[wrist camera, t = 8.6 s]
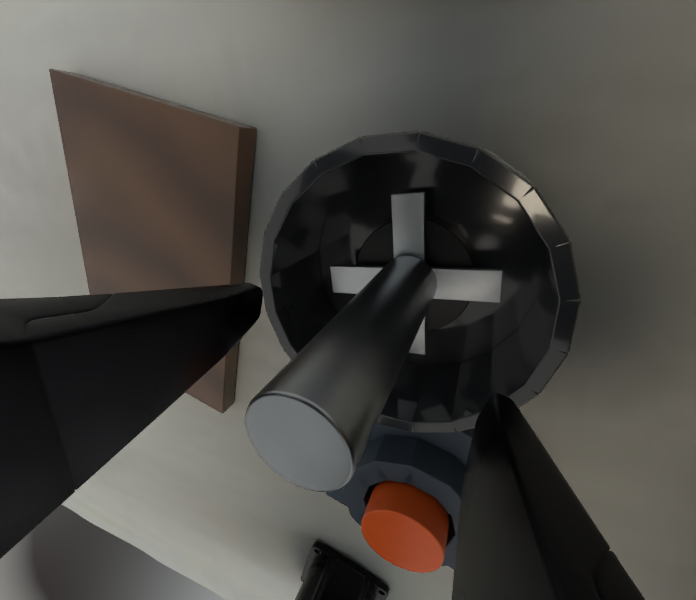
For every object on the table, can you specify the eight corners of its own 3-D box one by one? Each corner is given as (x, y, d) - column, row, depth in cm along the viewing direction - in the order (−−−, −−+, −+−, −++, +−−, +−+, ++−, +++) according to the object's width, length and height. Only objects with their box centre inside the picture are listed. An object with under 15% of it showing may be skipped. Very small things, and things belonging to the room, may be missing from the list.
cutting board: (234, 403, 24) (222, 414, 23) (113, 335, 27) (98, 343, 26) (257, 128, 15) (239, 126, 14) (73, 72, 18) (48, 68, 17)
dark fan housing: (485, 399, 16) (480, 477, 12) (301, 316, 18) (249, 360, 15) (617, 182, 11) (679, 200, 7) (341, 109, 13) (278, 93, 10)
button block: (461, 552, 21) (455, 608, 18) (333, 479, 23) (312, 520, 20) (543, 452, 16) (552, 510, 13) (370, 371, 18) (349, 407, 15)
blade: (495, 347, 14) (488, 636, 6) (351, 331, 17) (203, 514, 8) (508, 183, 12) (531, 270, 3) (337, 194, 14) (106, 258, 6)
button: (432, 549, 18) (426, 585, 16) (364, 509, 18) (352, 540, 17) (462, 508, 16) (458, 545, 14) (383, 466, 17) (372, 497, 15)
